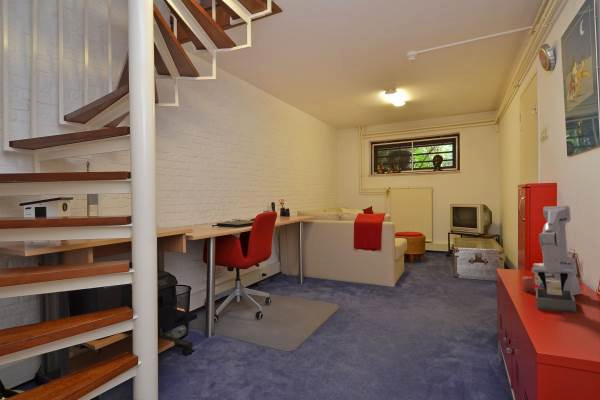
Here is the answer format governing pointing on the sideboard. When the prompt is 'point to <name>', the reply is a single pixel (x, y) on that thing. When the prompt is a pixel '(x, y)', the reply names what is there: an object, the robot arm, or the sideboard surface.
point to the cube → (553, 287)
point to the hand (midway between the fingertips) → (553, 289)
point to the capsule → (528, 284)
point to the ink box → (537, 279)
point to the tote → (555, 301)
